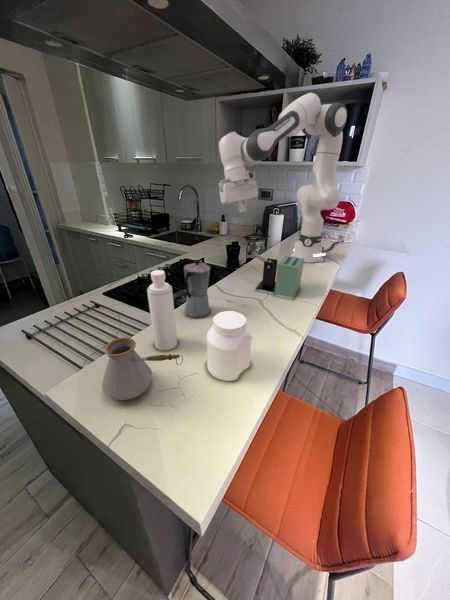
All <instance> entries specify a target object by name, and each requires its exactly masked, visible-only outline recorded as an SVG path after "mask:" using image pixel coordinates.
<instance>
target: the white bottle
mask: <svg viewBox="0 0 450 600" xmlns="http://www.w3.org/2000/svg"><path fill="white" fill-rule="evenodd" d="M150 278H151V282H152V283H151V284H150V285H149V286H148V287H147V288H146V293H147V301H148V308H149V313H150V314H149V315H150V319H151V326H152V327H151V328H152V333H153V334H152V335H153V340H154V341H153V342H154V346H155V347H156V349H157V350H159V351H170V350H172V349H175V348H176V347H177V345H178V334H177V323H176V312H175V303H174V293H173V286H172V285H171V284H169V283H168V282H166V281H165V280H166V272H165V270H162V269H156V270H155V269H154V270H153V271H151V272H150Z"/></svg>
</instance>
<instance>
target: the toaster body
mask: <svg viewBox="0 0 450 600" xmlns="http://www.w3.org/2000/svg"><path fill="white" fill-rule="evenodd" d="M304 264H305V262H304V258H298V257H292V256H290V255H284V256H283V258H282V259H281V260H280V261H279V262H278V263H277V271H276V279H275V282H276V285H275V292H274V295H277V296H283V297H286V298H292V299H294V298H295V296H296V294H297V293H298V291H299V289H300V287H301V281H302V275H303V271H304Z"/></svg>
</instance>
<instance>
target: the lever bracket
mask: <svg viewBox="0 0 450 600" xmlns="http://www.w3.org/2000/svg"><path fill="white" fill-rule="evenodd" d="M266 260H267V261H264V262H263V271H262V280H261V282H259V284H258V285H257V286H256V287H255V289H256V290H260V291H264V292H269V293H273V294H275V285H276V277H277V269H278V263H279V262H278V261H279V260H278V259H275V258H269V257H268V258H266ZM270 260H271V261H272V262H268V261H270Z"/></svg>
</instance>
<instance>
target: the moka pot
mask: <svg viewBox="0 0 450 600" xmlns="http://www.w3.org/2000/svg"><path fill="white" fill-rule="evenodd" d="M183 273H184V274H183V275H184V280H183V281H184V287H185V290H186V300H185V306H184V307H185V308H184V312H185V314H186V315H187V316H189V317H191V318H201V317H205V316H207V315H208V314H209V313H210V302H209V295H208V290H209V282H210V275H211V266H210V265H208V264H207V263H206V262H200V259H195V260H194V262H193V263H188V264H185V265H184V266H183Z"/></svg>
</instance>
